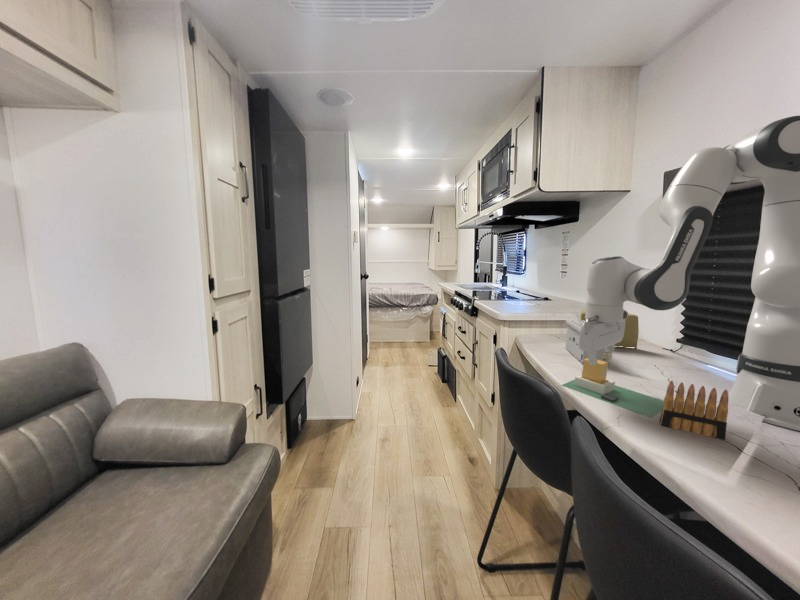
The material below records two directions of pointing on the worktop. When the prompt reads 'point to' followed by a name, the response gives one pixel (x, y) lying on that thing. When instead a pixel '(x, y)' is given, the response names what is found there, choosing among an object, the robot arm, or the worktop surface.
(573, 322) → the stereo radio cassette player
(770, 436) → the worktop surface
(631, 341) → the olive rectangular block
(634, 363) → the worktop surface
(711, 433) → the ammunition clip
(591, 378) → the yellow rectangular block
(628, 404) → the board
